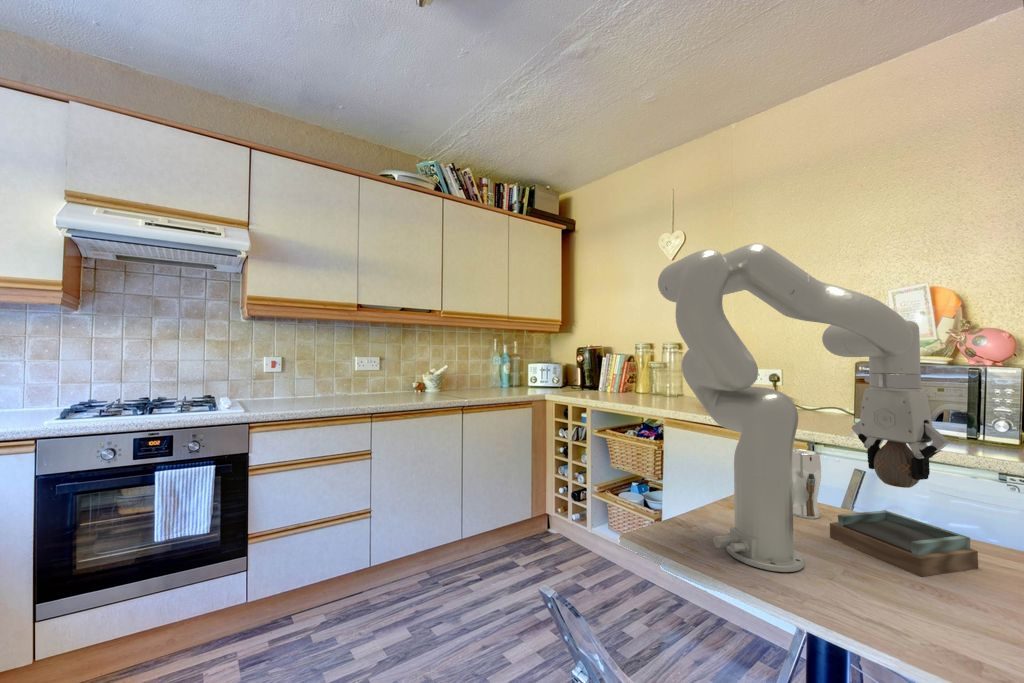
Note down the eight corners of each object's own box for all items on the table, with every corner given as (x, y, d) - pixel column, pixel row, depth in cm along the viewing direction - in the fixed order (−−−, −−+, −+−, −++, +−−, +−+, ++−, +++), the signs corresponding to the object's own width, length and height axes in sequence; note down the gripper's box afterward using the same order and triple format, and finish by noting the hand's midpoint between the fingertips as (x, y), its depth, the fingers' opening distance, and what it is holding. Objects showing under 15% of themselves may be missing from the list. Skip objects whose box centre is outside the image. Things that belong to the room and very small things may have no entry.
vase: (897, 479, 85) (896, 436, 85) (932, 490, 78) (931, 443, 78) (864, 479, 85) (863, 436, 85) (897, 490, 78) (896, 443, 78)
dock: (921, 576, 71) (920, 547, 72) (830, 537, 87) (829, 513, 87) (978, 568, 75) (977, 539, 75) (880, 531, 90) (880, 508, 90)
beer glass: (810, 509, 103) (809, 449, 104) (828, 520, 96) (827, 455, 97) (780, 508, 104) (780, 448, 105) (797, 518, 97) (796, 454, 98)
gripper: (836, 380, 90) (838, 463, 89) (934, 385, 73) (937, 488, 72) (862, 380, 92) (864, 462, 91) (964, 385, 75) (968, 485, 74)
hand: (897, 472), depth 82 cm, fingers closed on vase, 6 cm apart
